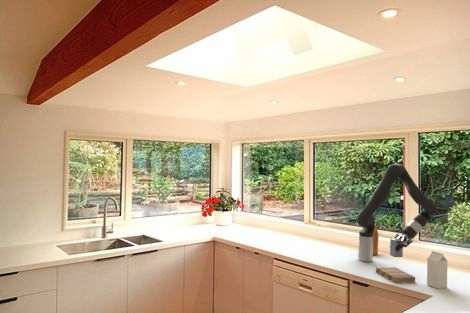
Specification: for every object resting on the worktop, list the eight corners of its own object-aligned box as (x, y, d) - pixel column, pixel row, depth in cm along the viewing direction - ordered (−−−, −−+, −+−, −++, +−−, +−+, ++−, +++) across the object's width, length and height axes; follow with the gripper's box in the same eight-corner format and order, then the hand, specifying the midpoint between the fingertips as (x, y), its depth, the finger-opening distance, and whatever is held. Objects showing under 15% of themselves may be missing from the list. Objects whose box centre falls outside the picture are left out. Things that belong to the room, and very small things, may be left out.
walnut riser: (375, 272, 223) (375, 267, 223) (394, 271, 225) (395, 267, 225) (394, 282, 203) (394, 277, 203) (415, 282, 205) (415, 277, 205)
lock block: (390, 254, 217) (390, 237, 217) (397, 254, 218) (398, 237, 218) (394, 257, 212) (395, 239, 212) (402, 257, 213) (403, 239, 213)
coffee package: (365, 250, 279) (365, 223, 280) (379, 254, 270) (380, 225, 270) (358, 252, 273) (358, 224, 274) (373, 256, 264) (373, 226, 264)
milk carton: (438, 289, 195) (439, 254, 195) (426, 284, 201) (427, 251, 202) (447, 287, 198) (447, 253, 198) (435, 283, 204) (436, 250, 204)
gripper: (401, 223, 223) (383, 242, 221) (416, 227, 209) (396, 247, 207) (408, 231, 224) (390, 250, 222) (423, 236, 210) (404, 256, 208)
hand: (393, 249), depth 214 cm, fingers closed on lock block, 5 cm apart
